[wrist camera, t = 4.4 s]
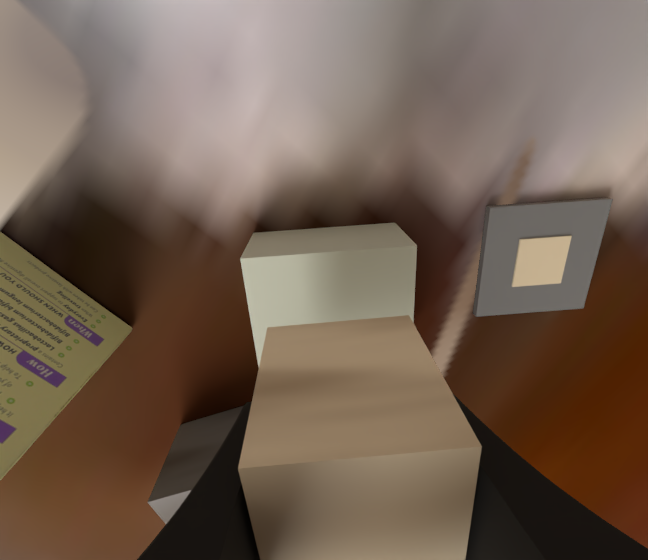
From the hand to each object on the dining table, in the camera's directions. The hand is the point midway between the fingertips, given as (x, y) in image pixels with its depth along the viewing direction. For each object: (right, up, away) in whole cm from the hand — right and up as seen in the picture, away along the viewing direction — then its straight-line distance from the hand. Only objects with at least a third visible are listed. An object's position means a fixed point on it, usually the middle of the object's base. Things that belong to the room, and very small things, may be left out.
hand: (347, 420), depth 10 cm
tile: (+10, +5, +8) cm, 14 cm away
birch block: (0, +1, +2) cm, 2 cm away
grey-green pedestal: (-1, +4, +8) cm, 9 cm away
